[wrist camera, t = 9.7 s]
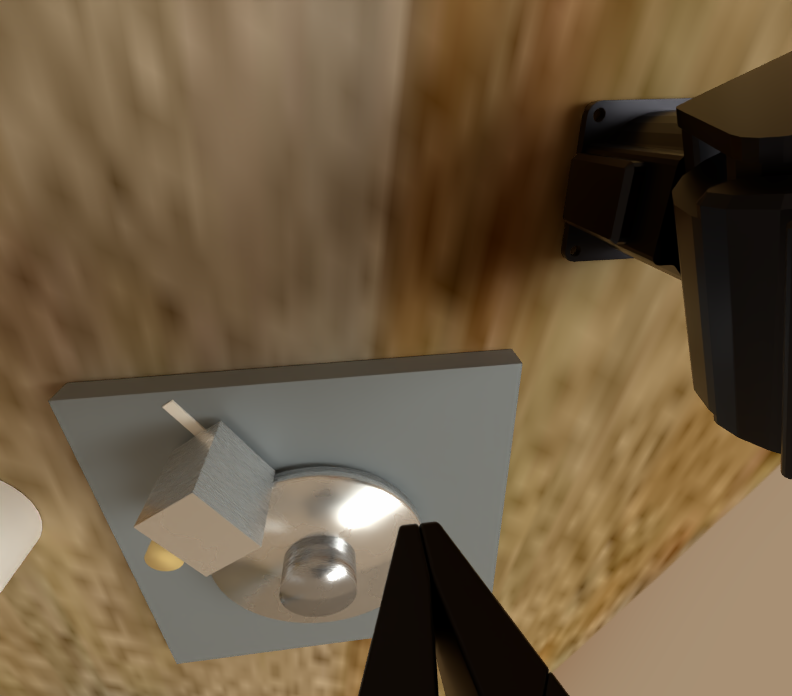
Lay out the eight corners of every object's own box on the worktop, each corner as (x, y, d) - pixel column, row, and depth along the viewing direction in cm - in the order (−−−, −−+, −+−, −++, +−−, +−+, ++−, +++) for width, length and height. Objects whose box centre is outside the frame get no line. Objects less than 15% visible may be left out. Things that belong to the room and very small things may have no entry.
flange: (188, 409, 20) (151, 481, 16) (463, 499, 25) (486, 571, 21) (123, 572, 25) (81, 659, 21) (366, 621, 29) (370, 699, 25)
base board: (511, 348, 23) (563, 419, 17) (482, 602, 33) (508, 694, 28) (66, 383, 21) (-27, 473, 16) (183, 640, 31) (151, 747, 26)
